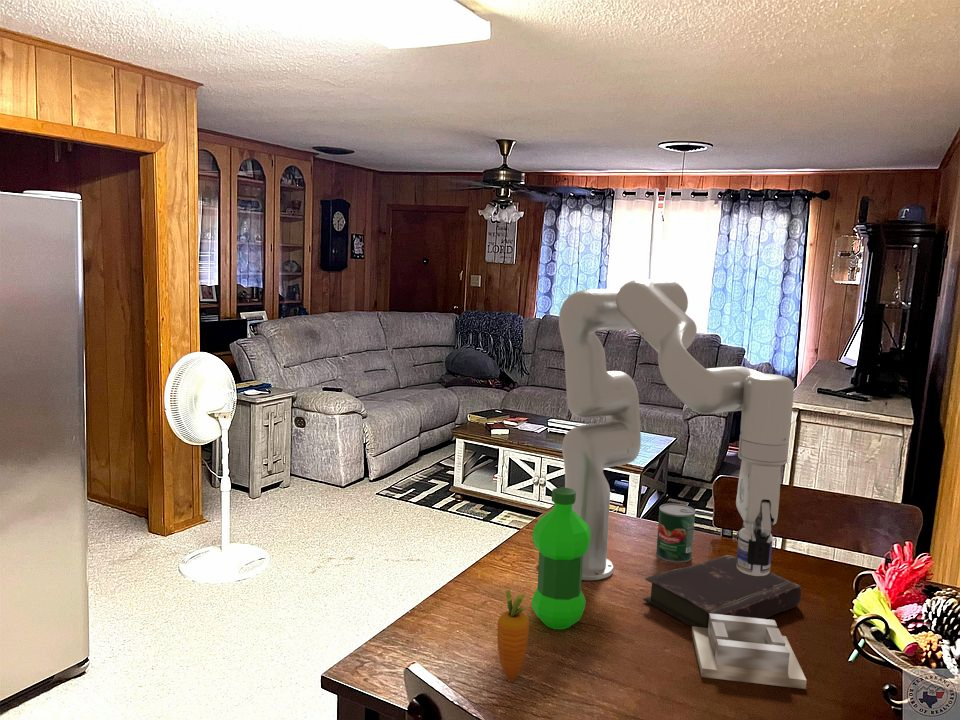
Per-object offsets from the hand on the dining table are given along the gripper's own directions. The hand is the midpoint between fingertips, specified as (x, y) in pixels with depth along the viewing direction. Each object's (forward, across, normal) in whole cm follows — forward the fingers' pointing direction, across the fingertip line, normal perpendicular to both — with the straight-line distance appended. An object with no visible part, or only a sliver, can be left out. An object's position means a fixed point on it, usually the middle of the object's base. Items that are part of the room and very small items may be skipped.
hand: (753, 555), depth 124 cm
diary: (+19, -20, -1) cm, 28 cm away
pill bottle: (+3, 0, 0) cm, 3 cm away
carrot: (+19, +15, -38) cm, 45 cm away
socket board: (+18, 0, 0) cm, 18 cm away
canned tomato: (+19, -43, -8) cm, 48 cm away
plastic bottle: (+19, -6, -32) cm, 38 cm away
